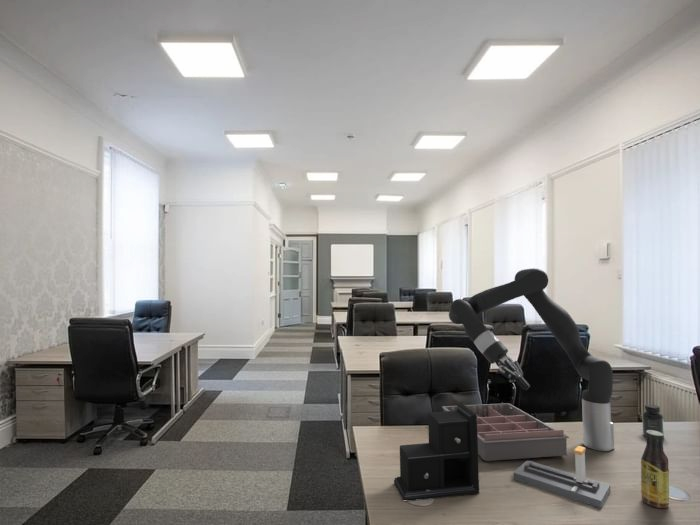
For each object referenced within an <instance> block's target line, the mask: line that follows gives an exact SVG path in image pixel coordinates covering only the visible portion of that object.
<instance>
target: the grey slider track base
mask: <svg viewBox="0 0 700 525" xmlns="http://www.w3.org/2000/svg"><path fill="white" fill-rule="evenodd" d="M574 477H576V473H572V472H569V471H565V470H561V469H558V468H555V467H552V466H548V465H545V464H542V463H540V462H534V461H531V460H526V461H524V462H523V463H522V464H521V465H520V466H518V467H517V469H515V470H514V471H513V480H516V481H518V482H521V483H523V484H528V485H531V486H534V487H537V488H538V489H539V488H540V489H543V490H545V491H549V492H552V493H554V494H557V495H560V496H563V497H566V498H569V499H573V500H575V501H578V502H581V503H585V504H588V505H590V506H593V507H596V508H599V509H602V508H603V506H604V504H605V502H606V500H607V499H608V498H609V496H610V493H611V492H612V491H611V484H610V483H606V482H602V481H598V480H596V479H593V478H589V477H586V478H585V480H587V481H588V485H586V484H583V483H580V482H576V481H574V480H573V478H574Z"/></svg>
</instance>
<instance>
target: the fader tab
mask: <svg viewBox="0 0 700 525" xmlns="http://www.w3.org/2000/svg"><path fill="white" fill-rule="evenodd" d="M586 451H587V450H586V446H585V447H584V446H580V445H577V447H576V448H574V449H573V453H574V464H575V465H574V466H575V474H576V477H574V478H573V480H574V481H576V482H580V483H583V484H586V485H588V481H587V480H585V478H587V477H586Z"/></svg>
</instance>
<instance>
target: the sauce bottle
mask: <svg viewBox="0 0 700 525" xmlns="http://www.w3.org/2000/svg"><path fill="white" fill-rule="evenodd" d="M645 438H646V446H645V449H644V451H643V453H642V456H641V460H640V467H641V468H640V474H641V475H640V479H641V480H640V491H641V492H640V493H641V499H642V501H643V502H644V503H645V504H647V505H649V506H651V507H653V508H656V509H657V508H658V509H666V508H668V507H669V504H670V503H669V502H670V470H669V469H670V468H669V459H668V456H667V455H666V454H665V451H664V439H665V434H664V435H663V434H662V433H661V432H658V431H654V430H647V431H646V436H645Z"/></svg>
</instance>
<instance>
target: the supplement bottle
mask: <svg viewBox="0 0 700 525" xmlns="http://www.w3.org/2000/svg"><path fill="white" fill-rule="evenodd" d="M641 418H642V420H641V421H642V434H643V436H644V435H645V437H646V431H647V430H654V431H658V432H661V433H662V434H663V435H664V436H665V428H664V427H665V424H664V415H663V414H662V413H661V407H660V406H658V405H655V404H644V411H643V412H642V414H641Z"/></svg>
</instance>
